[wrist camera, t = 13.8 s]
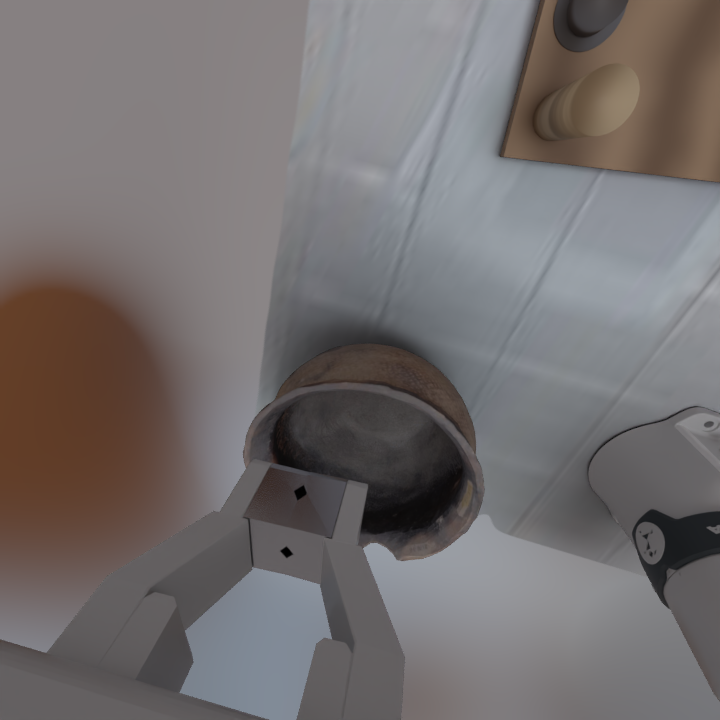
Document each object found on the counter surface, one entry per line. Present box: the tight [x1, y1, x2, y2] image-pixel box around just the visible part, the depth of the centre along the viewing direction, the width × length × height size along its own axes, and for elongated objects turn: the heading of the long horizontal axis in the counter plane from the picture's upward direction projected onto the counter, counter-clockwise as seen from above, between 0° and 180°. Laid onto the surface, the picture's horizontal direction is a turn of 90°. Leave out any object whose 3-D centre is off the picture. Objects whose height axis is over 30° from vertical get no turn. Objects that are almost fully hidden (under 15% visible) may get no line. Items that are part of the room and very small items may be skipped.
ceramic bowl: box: [243, 344, 484, 561], centre depth 39 cm, size 22×22×15 cm
